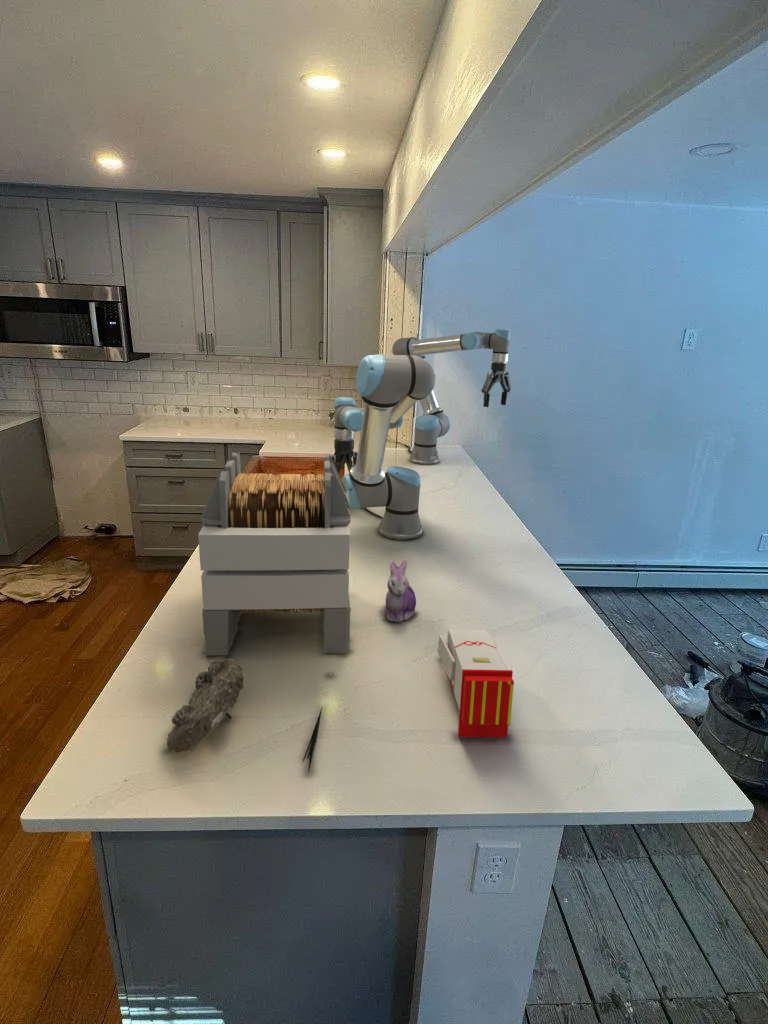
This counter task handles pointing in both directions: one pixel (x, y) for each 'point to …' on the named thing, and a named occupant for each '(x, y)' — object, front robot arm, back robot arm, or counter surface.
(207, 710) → the fossil
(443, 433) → the back robot arm
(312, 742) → the feather
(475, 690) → the toy
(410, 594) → the figurine
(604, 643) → the counter surface
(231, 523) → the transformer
